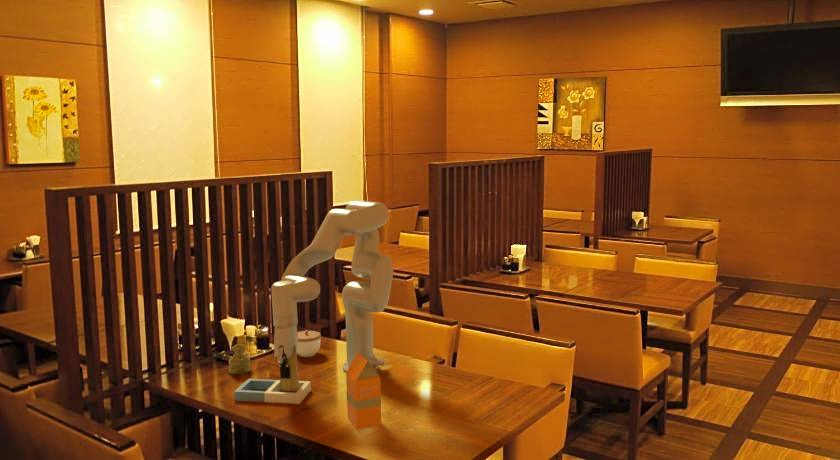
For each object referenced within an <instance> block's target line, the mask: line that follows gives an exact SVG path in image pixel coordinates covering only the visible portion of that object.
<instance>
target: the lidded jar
mask: <svg viewBox="0 0 840 460" xmlns="http://www.w3.org/2000/svg"><path fill="white" fill-rule="evenodd" d="M297 335H298V349H297V352H296V354H298V356H299V357H303V358H310V357H314V356H316V353H317V352H319V349H320V347H321V342H322V341H321V337H322V335H321V332H319V331H316V330H307V329H305V330H301V331H297Z"/></svg>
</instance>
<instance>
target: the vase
mask: <svg viewBox="0 0 840 460" xmlns="http://www.w3.org/2000/svg"><path fill="white" fill-rule="evenodd" d="M296 355H297V352H296V345H294V346H293V352H292V355H291V356H290V357H289V366H290V374H291V378H290V379H284V378H281V377H279V380H280V388H281V389H282V390H284V391H283V392H293V391H292V390H295V389H297V388H299V381H300V378H299V371H298V361H297V360H298V359H297V358H296ZM283 357H286V355H283ZM296 359H297V360H296ZM283 360H285V361H286V359H283Z"/></svg>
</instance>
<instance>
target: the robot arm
mask: <svg viewBox="0 0 840 460" xmlns="http://www.w3.org/2000/svg"><path fill="white" fill-rule="evenodd" d="M389 214H390V212H389V209H388V207H387V205H385V203H382V202H379V201H368V200H352V201H349V202H348V203H347V204H346V206H345V208H333V209H331V210H329V211H328V213H326V215H325V217H324V220H323V221H322V223H321V225H320V227H319V228H318V230H317V232H316V234H315V235H314V238H313V239H312V242H311V243H310V245H308V246H307V247H306V248H304V249H303V250H302V251H301V252H299V253H298V254H297V255H296V256H295V257H293V259H292V260H291V261H290V262H289V264H288V265H287V267H286V269H285V271H284V273H283V275H282V277H281V280H279V281H276V282H273V284H272V285H271V290H270V291H271V302H272V303H271V304H272V320H273V327H274V334H273V350H274V351H273V352H274V353H273V354H274V356H273V357H275V358H277V362H278V364H279V376H280V377H281V378H284V379H290V378H291V374H290V366H289V357H290V356H291V355H292V352H293V346H294V345H296V353H297V349H298V335H297V332H298V329H297V328H298V327H297V326H298V324H299V321H298V307H297V303H301V302H302V303H305V302H310V301H313V300H315V299H317V297H319V295H320V294H321V293H320V292H321V285H320V282H318V280H316V279H314V278H311V277H308V276H305V274H306V273H307V272H308V271H309V269H310V270H311V268H313V267H314V266H315V265H318V264H321V263H323V262H326V261H328V260H331V259H332V258H334V256H335V255H336V252H337V251H338V248H339V247H340V245H341V243H342V242H343V239H344V237H345V236H346V235H347V236H355V239H354V240H355V241H354V247H353V254H352V258H351V267H350V268H351V273H352V275H354V277H355V276H356V277H357V278H361V279H366V280H370V282H365V281H357V280H354V281H350V282H347V283H346V284H345V285H344V287H343V289H342V292H341V300H342V305H343V308H344V313H345V315H344V316H345V338H346V339H345V342H346V344H345V345H346V347H345V348H346V362H345V363H343V364H342V370H343V371H344V372H345V373H346V371H347V370H348V368H349V367H350V365H351V363H352V362H353V360H354V358H355V357H356V355H357V353H360V354H361V355H362V356H363V357H364V358H365V359H366V360H367V361H368V362H369V363H370V364H371V366H372V367H373V368H374V369H375V371H377V370H378V369H379V366H386V360H384V358H382V357H381V358H378V357H376V356H377V355H376V353H374V324H373V323H374V320H373V315H372V313H375V314H377V313H381V312H383V311H384V310H385V309H387V306H388V304H389V299H390V294H391V290H392V283H393V279H394V278H393V277H394V263H393V261H392V259H391V257H390V256H389V255H387V254H386V253H385V254H384V253H381V252H379V250H380V233H379V230H378V229H379V228H381V227H383V226H384V225H385V224H386V223H387V221H388V220H389ZM283 355H286V357H283ZM297 356H298V355H297V354H296V360H298V359H297V358H298V357H297ZM283 359H286V361H285V360H283ZM280 377H279V378H280Z"/></svg>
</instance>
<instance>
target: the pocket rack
mask: <svg viewBox="0 0 840 460" xmlns="http://www.w3.org/2000/svg"><path fill="white" fill-rule="evenodd" d="M311 391H312V384H311V381H310V380H309V381H307V380H299V388H297V389H295V390H292V391H284V390H282V389H281V388H280V379H264V378H261V379H260V378H247V379H246V380H245V381H244V382H243V383H242V384H240V385H239V387H237V388H236V389H235V390H234V391H233V395H234V401H238V402H251V403H252V402H253V403H257V402H258V403H274V404H275V403H276V404H294V405H296V404H297V405H300V404H301V403H302V402H303V400H304V399H305V398H306V397H307V396H308V394H309V393H310V392H311Z"/></svg>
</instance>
